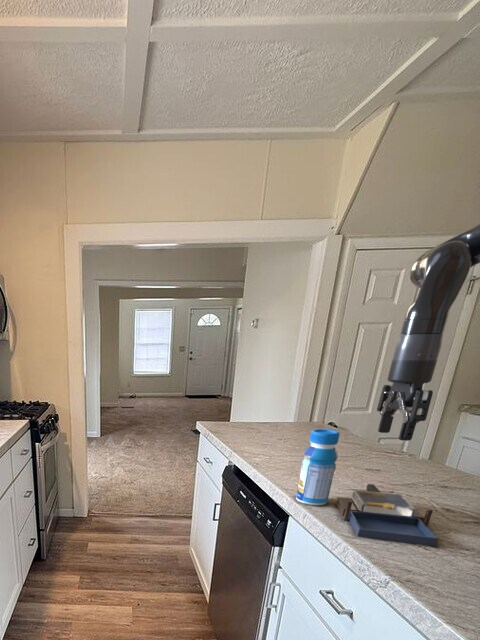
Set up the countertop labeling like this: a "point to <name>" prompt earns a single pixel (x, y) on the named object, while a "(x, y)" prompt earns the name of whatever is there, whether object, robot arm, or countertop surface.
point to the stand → (348, 505)
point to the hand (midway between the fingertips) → (393, 436)
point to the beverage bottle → (318, 467)
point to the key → (381, 504)
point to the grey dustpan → (376, 496)
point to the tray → (392, 528)
